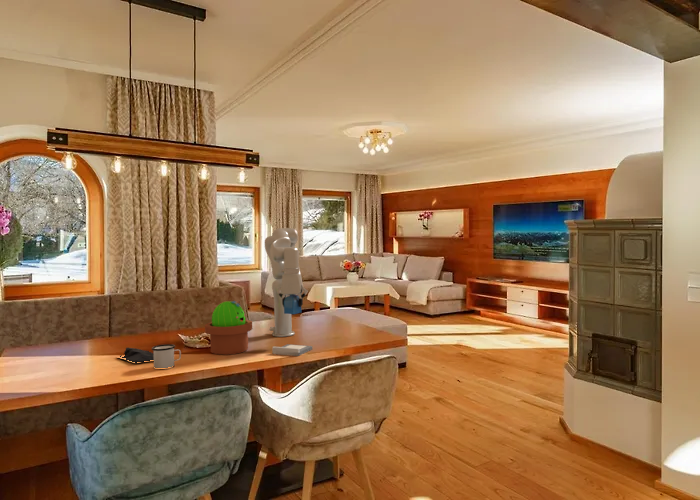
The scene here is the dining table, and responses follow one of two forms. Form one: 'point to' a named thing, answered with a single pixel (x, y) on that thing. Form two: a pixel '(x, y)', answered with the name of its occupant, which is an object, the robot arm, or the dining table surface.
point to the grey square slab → (291, 350)
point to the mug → (164, 355)
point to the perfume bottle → (291, 304)
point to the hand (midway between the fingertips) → (292, 306)
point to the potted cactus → (228, 329)
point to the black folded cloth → (137, 355)
